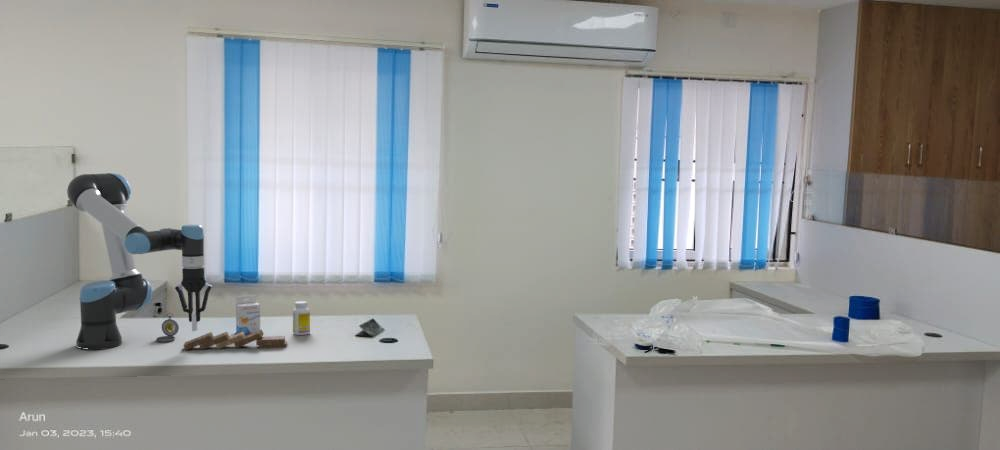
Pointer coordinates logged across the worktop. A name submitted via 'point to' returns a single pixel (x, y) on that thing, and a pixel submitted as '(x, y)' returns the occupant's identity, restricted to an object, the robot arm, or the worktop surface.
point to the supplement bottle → (301, 318)
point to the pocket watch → (166, 328)
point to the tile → (231, 340)
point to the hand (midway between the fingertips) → (194, 330)
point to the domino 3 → (249, 338)
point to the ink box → (247, 314)
